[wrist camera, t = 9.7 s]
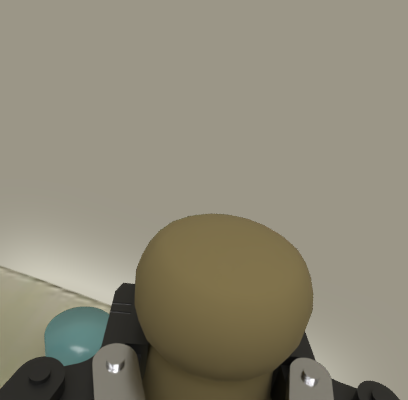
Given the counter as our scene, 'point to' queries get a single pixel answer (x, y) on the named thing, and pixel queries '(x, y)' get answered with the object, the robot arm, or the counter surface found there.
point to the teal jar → (75, 334)
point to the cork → (219, 308)
